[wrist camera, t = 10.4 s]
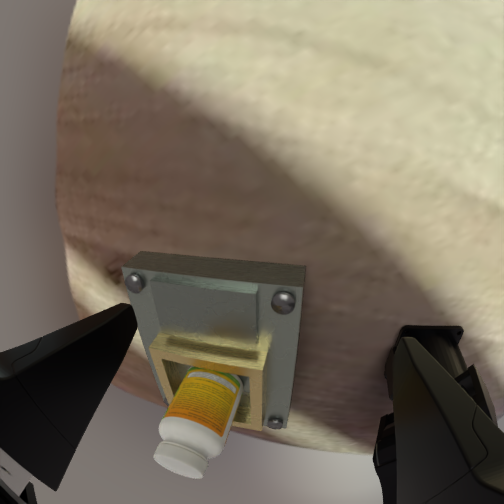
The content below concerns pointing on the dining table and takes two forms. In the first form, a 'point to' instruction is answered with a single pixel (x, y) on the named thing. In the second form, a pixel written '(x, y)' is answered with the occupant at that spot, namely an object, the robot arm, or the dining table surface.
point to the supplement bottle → (198, 421)
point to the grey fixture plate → (221, 326)
